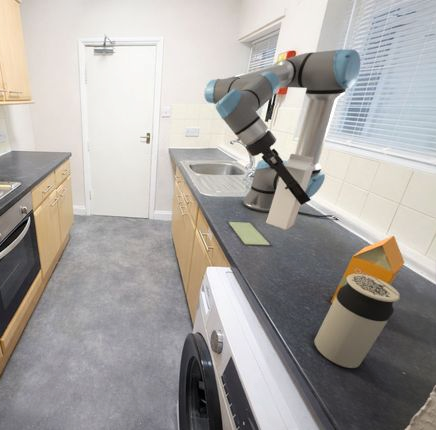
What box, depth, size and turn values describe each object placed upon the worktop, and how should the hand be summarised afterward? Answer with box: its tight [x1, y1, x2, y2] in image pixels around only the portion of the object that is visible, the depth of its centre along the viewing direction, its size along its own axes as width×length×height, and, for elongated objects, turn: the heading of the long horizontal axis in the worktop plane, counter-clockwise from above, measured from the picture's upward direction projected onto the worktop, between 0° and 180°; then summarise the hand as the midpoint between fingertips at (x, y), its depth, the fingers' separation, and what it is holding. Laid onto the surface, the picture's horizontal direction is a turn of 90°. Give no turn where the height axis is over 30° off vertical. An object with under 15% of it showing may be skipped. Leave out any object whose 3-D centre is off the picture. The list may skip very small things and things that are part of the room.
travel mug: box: [313, 274, 401, 369], centre depth 53 cm, size 8×8×18 cm
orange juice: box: [330, 235, 405, 304], centre depth 66 cm, size 8×9×20 cm
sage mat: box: [228, 221, 271, 247], centre depth 105 cm, size 9×18×1 cm, turn 177°
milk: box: [265, 153, 314, 231], centre depth 80 cm, size 6×6×22 cm
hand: (301, 196), depth 80 cm, fingers closed on milk, 8 cm apart
